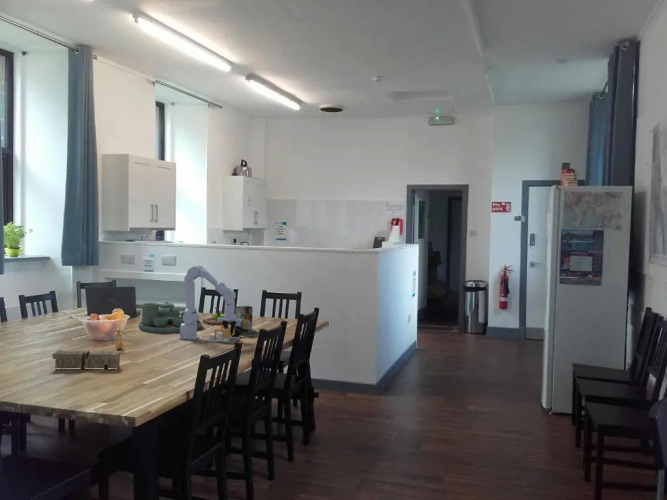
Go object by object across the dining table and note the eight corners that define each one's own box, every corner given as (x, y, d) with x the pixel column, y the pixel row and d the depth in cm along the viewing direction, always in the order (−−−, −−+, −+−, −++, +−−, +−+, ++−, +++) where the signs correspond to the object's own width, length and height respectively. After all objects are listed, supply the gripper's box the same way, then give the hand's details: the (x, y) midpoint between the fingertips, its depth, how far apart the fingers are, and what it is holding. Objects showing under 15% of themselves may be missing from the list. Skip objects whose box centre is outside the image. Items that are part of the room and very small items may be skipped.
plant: (220, 319, 421) (221, 304, 420) (238, 323, 408) (238, 307, 407) (197, 322, 406) (198, 306, 405) (214, 326, 393) (215, 310, 392)
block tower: (120, 368, 280) (57, 365, 277) (121, 350, 280) (58, 348, 277) (116, 372, 272) (51, 370, 269) (117, 354, 272) (52, 352, 269)
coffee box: (247, 329, 384) (247, 305, 383) (252, 330, 379) (253, 306, 378) (235, 330, 378) (235, 306, 377) (240, 332, 373) (241, 307, 372)
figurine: (127, 348, 319) (128, 326, 318) (125, 350, 313) (125, 328, 312) (112, 348, 317) (112, 326, 317) (109, 350, 311) (109, 328, 311)
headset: (228, 317, 369) (259, 321, 369) (226, 332, 369) (257, 336, 370) (225, 320, 355) (257, 325, 356) (222, 336, 356) (255, 340, 356)
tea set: (169, 336, 356) (169, 309, 355) (125, 328, 377) (126, 303, 376) (214, 327, 390) (214, 302, 389) (172, 320, 411) (172, 297, 410)
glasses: (214, 337, 341) (214, 329, 340) (221, 333, 354) (221, 325, 354) (228, 338, 340) (228, 329, 339) (234, 334, 353) (234, 326, 353)
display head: (204, 341, 341) (204, 332, 341) (211, 337, 355) (212, 328, 355) (233, 343, 339) (233, 334, 339) (240, 338, 353) (240, 329, 353)
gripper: (215, 311, 343) (215, 334, 343) (239, 312, 341) (239, 335, 341) (219, 309, 350) (219, 332, 350) (242, 311, 348) (242, 333, 348)
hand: (229, 333), depth 346 cm, fingers closed on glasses, 2 cm apart
